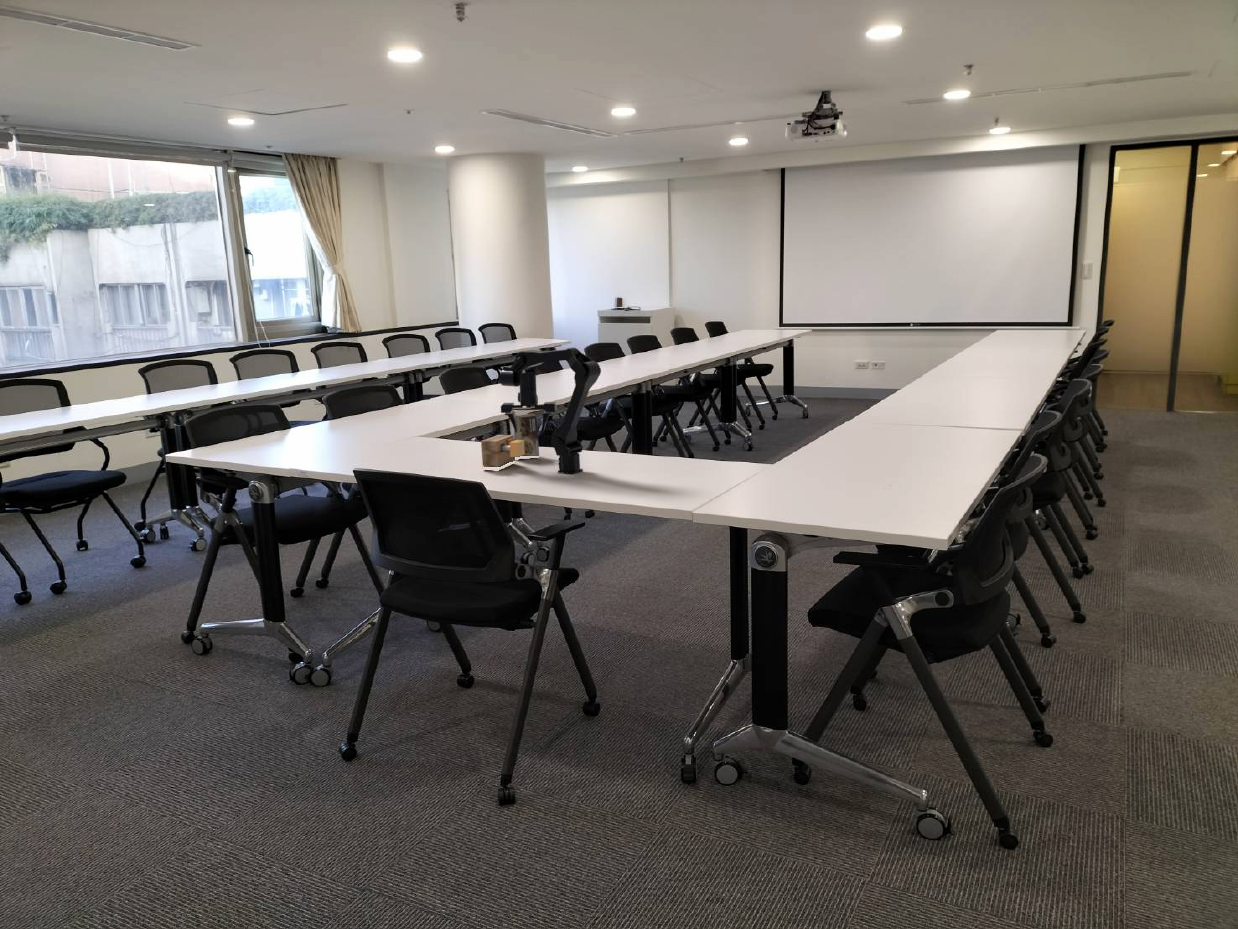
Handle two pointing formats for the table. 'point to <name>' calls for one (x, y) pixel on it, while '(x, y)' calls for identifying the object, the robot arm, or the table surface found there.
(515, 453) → the knob
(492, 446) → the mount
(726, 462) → the table surface
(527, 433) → the coffee box
